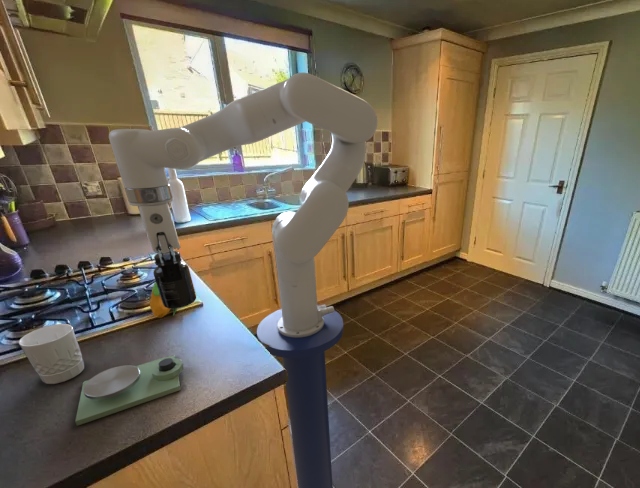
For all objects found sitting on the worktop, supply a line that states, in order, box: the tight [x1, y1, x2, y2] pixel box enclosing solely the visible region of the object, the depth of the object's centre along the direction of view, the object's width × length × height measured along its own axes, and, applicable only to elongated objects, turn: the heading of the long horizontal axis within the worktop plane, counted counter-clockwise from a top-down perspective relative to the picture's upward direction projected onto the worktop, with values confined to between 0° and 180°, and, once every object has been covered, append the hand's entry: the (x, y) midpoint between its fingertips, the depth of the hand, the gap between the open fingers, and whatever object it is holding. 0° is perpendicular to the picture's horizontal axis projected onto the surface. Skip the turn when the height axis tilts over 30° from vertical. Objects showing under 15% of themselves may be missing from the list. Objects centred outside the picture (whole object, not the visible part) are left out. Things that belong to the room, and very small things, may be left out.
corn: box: [149, 281, 178, 319], centre depth 94 cm, size 7×8×20 cm
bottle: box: [166, 168, 192, 224], centre depth 179 cm, size 8×8×30 cm
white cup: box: [18, 323, 85, 385], centre depth 68 cm, size 8×8×10 cm
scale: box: [74, 354, 184, 426], centre depth 67 cm, size 17×12×2 cm
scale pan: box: [83, 364, 141, 400], centre depth 64 cm, size 9×9×1 cm
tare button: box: [159, 358, 175, 372], centre depth 69 cm, size 3×3×2 cm
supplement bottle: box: [153, 250, 197, 310], centre depth 74 cm, size 7×7×12 cm
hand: (172, 274), depth 74 cm, fingers closed on supplement bottle, 6 cm apart
